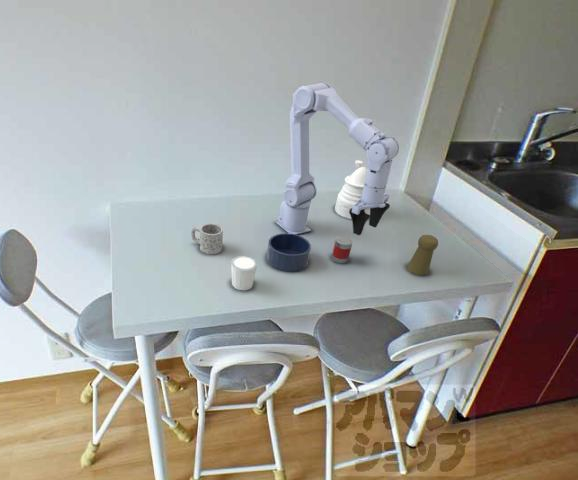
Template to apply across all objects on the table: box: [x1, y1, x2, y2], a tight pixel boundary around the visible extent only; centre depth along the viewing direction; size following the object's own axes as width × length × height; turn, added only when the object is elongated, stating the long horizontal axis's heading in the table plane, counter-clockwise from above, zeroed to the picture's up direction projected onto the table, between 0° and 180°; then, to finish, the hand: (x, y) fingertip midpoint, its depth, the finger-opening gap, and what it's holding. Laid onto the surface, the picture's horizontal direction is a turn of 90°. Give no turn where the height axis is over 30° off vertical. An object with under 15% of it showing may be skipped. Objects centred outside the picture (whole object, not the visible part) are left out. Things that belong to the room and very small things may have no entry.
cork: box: [406, 234, 439, 277], centre depth 121 cm, size 6×6×11 cm
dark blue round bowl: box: [266, 232, 312, 273], centre depth 123 cm, size 12×12×6 cm
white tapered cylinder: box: [230, 255, 258, 291], centre depth 112 cm, size 7×7×7 cm
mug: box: [191, 223, 224, 255], centre depth 126 cm, size 10×7×7 cm, turn 65°
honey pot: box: [334, 159, 370, 220], centre depth 147 cm, size 13×13×18 cm
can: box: [331, 235, 353, 264], centre depth 125 cm, size 5×5×6 cm
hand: (364, 229), depth 121 cm, fingers open, 7 cm apart
